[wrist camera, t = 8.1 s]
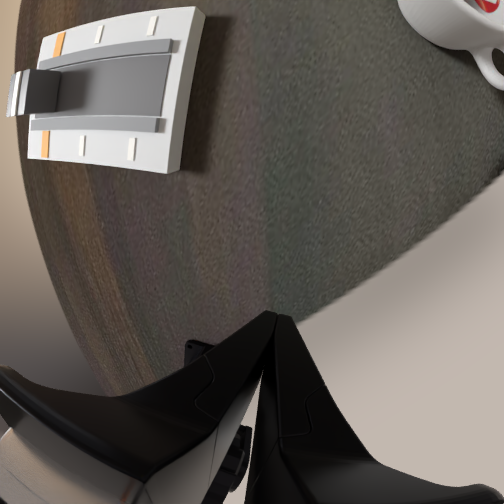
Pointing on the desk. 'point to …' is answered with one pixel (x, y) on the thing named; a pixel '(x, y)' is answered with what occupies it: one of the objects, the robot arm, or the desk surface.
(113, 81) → the console board
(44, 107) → the fader knob
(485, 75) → the cup
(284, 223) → the desk surface
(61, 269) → the desk surface
